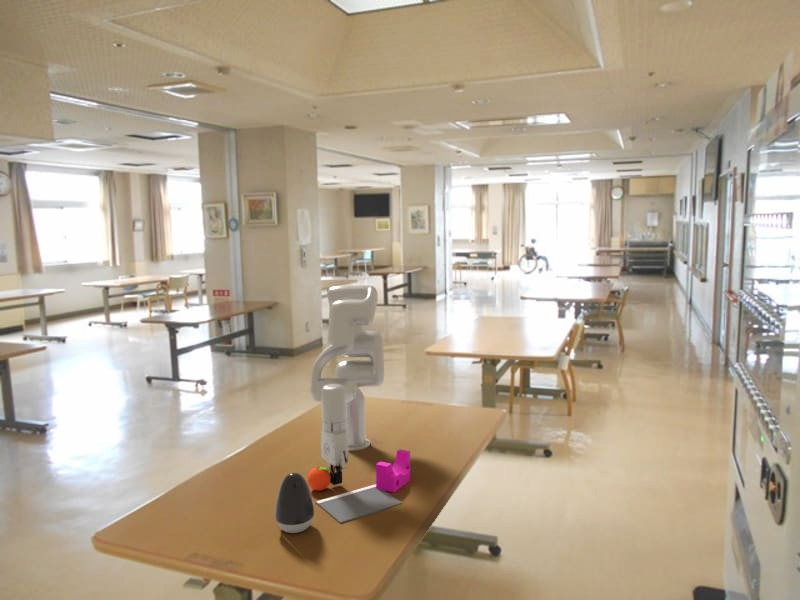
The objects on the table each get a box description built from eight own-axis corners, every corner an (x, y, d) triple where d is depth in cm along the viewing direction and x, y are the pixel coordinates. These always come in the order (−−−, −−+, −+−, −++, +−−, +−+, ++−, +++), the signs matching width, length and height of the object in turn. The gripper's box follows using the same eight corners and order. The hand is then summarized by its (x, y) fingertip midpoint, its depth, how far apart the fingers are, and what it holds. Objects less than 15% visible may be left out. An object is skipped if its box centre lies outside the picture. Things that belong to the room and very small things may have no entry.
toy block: (394, 492, 178) (394, 468, 177) (376, 488, 181) (376, 464, 180) (416, 475, 191) (417, 452, 190) (399, 471, 194) (399, 449, 193)
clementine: (336, 485, 184) (336, 463, 184) (331, 495, 177) (331, 472, 177) (311, 484, 185) (310, 462, 184) (305, 494, 178) (304, 471, 177)
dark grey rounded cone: (280, 542, 151) (278, 484, 149) (272, 523, 161) (269, 469, 159) (319, 533, 155) (317, 477, 153) (309, 516, 165) (307, 463, 163)
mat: (315, 502, 173) (315, 500, 172) (375, 485, 183) (375, 483, 183) (340, 523, 160) (340, 521, 160) (402, 503, 171) (402, 502, 171)
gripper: (312, 421, 185) (314, 477, 188) (335, 434, 173) (336, 495, 175) (334, 416, 189) (335, 472, 192) (357, 429, 177) (359, 488, 179)
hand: (336, 482), depth 183 cm, fingers closed
